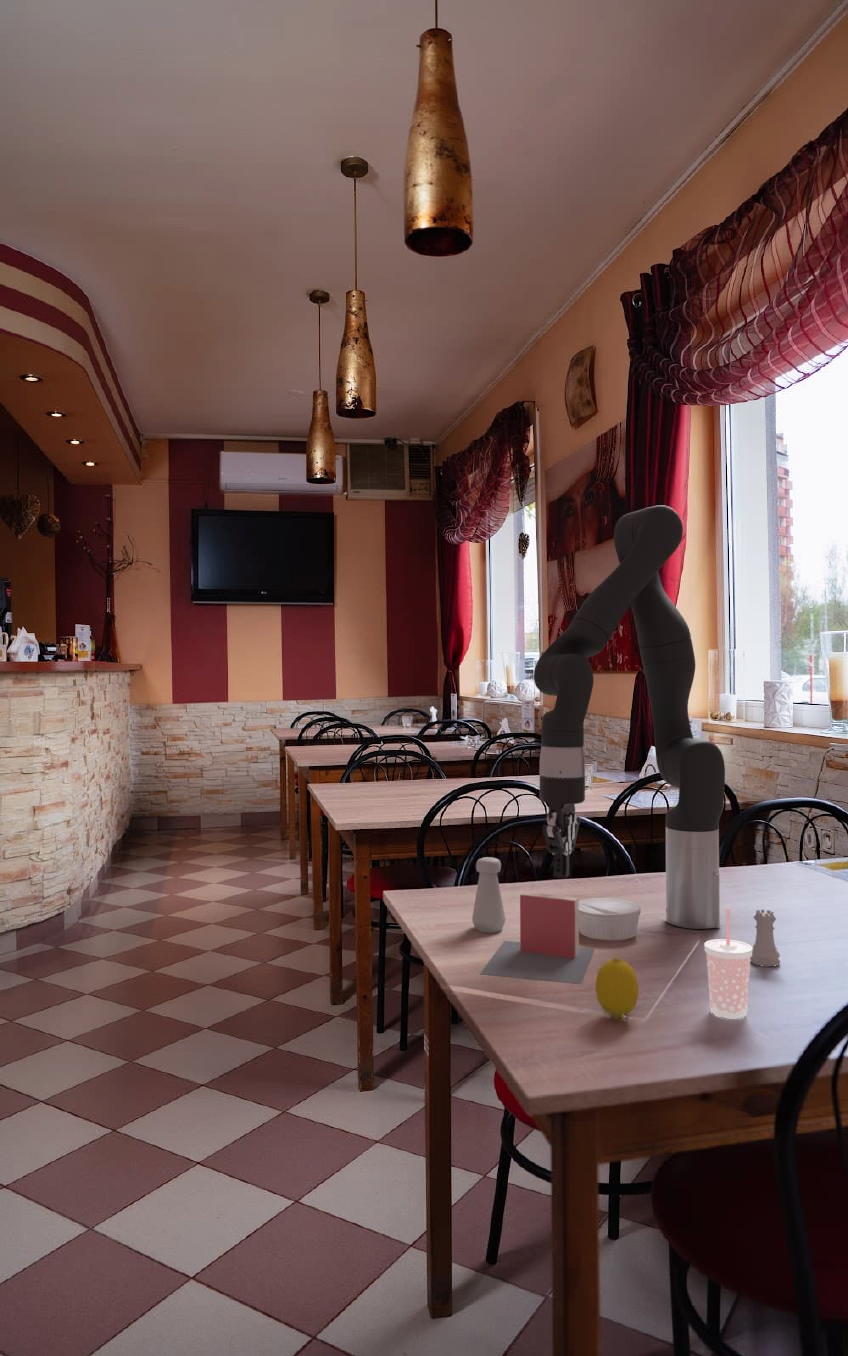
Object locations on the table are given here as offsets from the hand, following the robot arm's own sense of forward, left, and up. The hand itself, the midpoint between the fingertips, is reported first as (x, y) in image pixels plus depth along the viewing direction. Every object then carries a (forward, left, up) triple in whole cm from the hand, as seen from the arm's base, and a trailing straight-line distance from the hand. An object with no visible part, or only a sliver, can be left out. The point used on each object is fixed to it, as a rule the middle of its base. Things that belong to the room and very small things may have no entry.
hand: (561, 876), depth 149 cm
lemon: (-12, +30, -12) cm, 34 cm away
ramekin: (-7, -7, -12) cm, 15 cm away
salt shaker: (+13, -3, -12) cm, 18 cm away
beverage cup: (-26, +24, -12) cm, 37 cm away
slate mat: (+2, +11, -11) cm, 16 cm away
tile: (+1, +7, -11) cm, 13 cm away
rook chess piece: (-32, +1, -12) cm, 34 cm away
